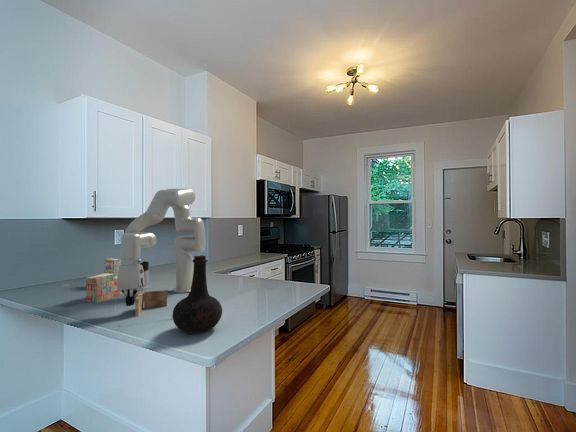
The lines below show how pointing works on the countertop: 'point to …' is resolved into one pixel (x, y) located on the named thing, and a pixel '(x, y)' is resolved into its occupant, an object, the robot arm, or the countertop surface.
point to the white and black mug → (146, 274)
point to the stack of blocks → (101, 287)
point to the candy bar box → (111, 266)
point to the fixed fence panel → (154, 299)
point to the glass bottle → (197, 303)
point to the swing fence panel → (138, 304)
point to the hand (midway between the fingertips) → (130, 304)
